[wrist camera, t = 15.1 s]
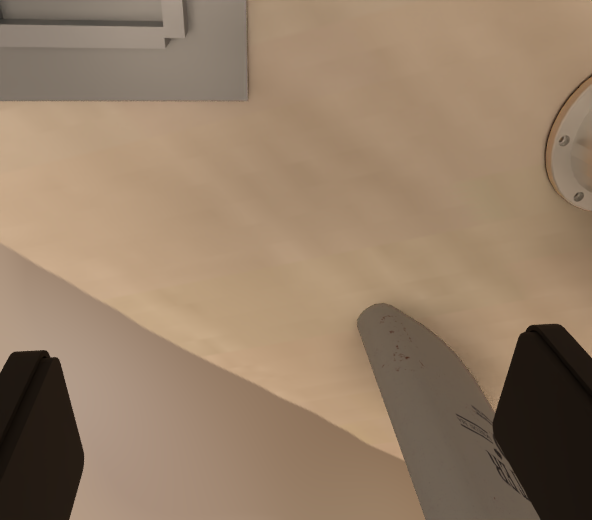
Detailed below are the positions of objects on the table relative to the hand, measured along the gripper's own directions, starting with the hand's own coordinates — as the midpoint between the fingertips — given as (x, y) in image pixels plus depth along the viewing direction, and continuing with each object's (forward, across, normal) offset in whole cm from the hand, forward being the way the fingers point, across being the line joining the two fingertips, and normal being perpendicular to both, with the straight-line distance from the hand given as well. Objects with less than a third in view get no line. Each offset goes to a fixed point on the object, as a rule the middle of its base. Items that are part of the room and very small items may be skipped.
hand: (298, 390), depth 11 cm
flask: (+31, -17, +26) cm, 44 cm away
